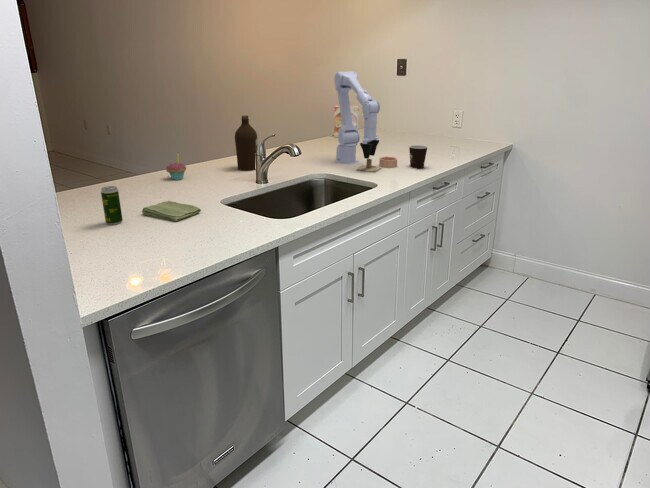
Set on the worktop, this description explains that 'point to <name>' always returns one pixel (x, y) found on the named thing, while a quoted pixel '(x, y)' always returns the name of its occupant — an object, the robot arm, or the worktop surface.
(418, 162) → the coffee mug
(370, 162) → the lid
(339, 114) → the coffeecake box
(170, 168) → the cupcake
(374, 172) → the mat
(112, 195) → the beer can
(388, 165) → the bowl
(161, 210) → the washcloth
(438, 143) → the worktop surface
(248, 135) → the olive oil
